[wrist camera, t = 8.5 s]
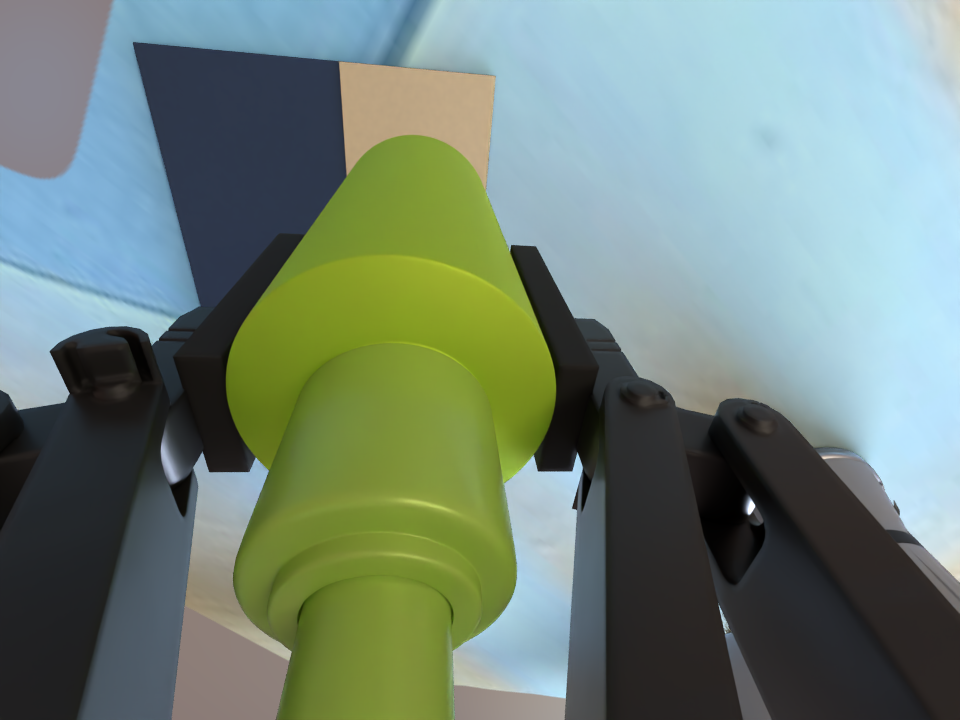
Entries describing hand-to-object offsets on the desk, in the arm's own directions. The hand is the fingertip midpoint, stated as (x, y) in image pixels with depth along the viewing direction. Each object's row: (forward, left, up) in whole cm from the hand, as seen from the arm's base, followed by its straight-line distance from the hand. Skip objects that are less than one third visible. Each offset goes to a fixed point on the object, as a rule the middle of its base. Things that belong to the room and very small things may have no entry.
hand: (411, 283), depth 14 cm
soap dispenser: (0, 0, -7) cm, 7 cm away
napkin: (-5, +6, -19) cm, 21 cm away
